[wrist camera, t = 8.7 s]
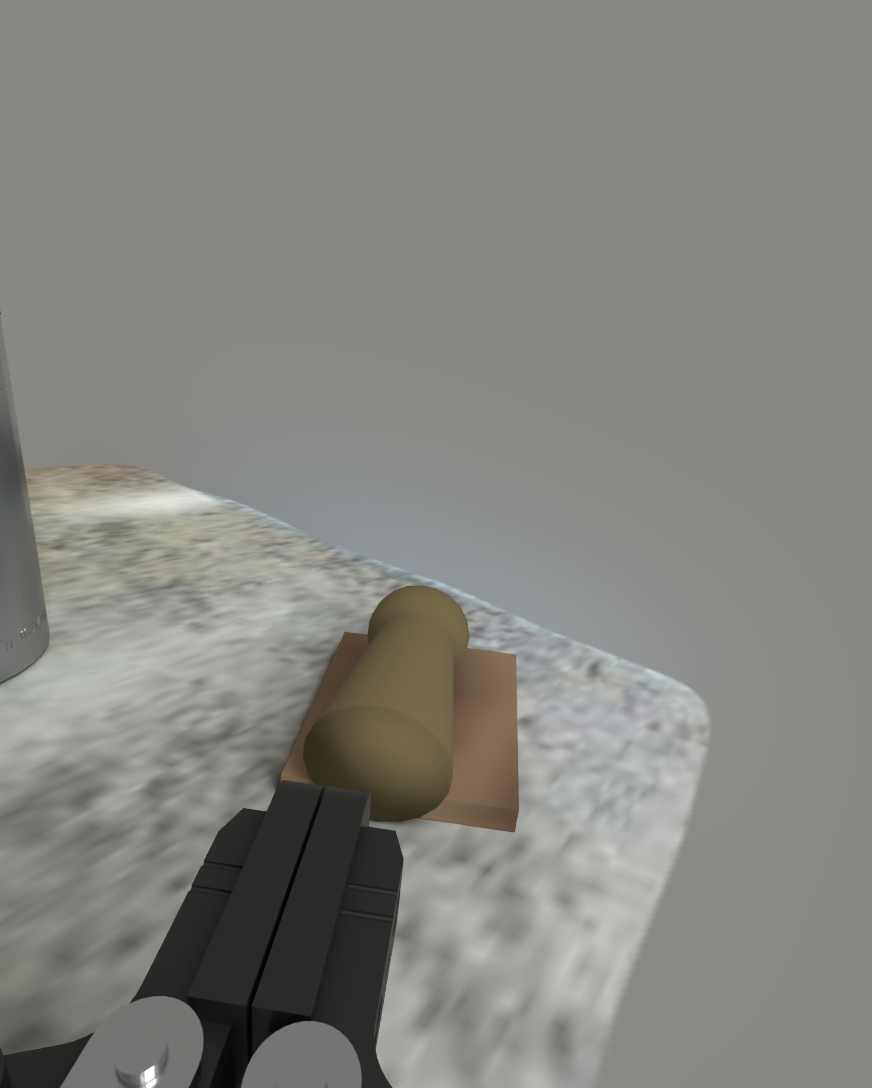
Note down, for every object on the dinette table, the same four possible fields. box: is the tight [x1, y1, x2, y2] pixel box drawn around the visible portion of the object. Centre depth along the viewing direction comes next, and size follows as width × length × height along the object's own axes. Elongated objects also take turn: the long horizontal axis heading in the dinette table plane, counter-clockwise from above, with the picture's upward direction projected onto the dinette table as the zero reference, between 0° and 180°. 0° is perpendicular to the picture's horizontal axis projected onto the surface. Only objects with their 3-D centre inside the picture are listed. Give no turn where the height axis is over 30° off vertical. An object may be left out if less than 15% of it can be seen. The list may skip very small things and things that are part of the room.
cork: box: [303, 586, 469, 822], centre depth 31 cm, size 6×6×11 cm
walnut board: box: [281, 632, 519, 832], centre depth 34 cm, size 10×12×1 cm
